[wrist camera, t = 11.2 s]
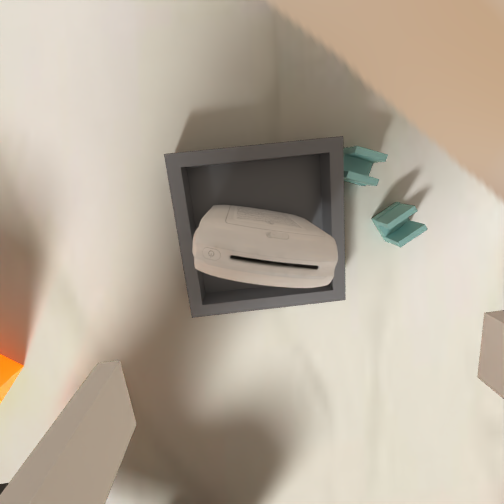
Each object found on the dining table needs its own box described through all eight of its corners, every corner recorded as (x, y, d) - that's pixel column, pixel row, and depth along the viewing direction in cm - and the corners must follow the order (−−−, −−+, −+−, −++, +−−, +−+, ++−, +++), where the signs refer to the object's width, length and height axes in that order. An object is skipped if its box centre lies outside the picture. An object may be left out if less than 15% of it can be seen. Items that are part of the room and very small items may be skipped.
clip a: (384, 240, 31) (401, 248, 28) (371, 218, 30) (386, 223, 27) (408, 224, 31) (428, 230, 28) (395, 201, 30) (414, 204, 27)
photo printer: (203, 241, 29) (181, 286, 17) (208, 199, 28) (188, 217, 16) (300, 254, 30) (342, 306, 18) (308, 214, 29) (358, 241, 17)
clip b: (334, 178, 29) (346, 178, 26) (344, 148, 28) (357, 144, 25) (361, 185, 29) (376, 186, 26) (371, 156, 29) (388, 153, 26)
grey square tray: (196, 302, 32) (191, 317, 28) (173, 156, 28) (164, 154, 24) (333, 286, 32) (345, 299, 29) (329, 141, 28) (343, 136, 25)
